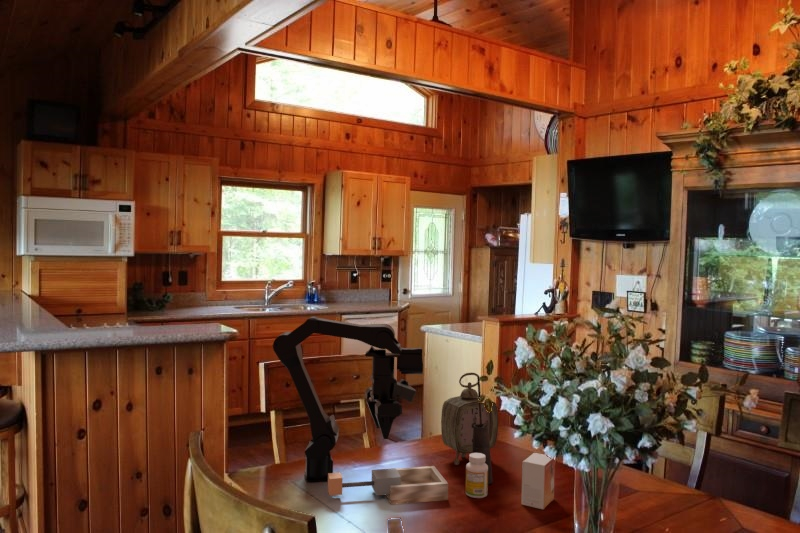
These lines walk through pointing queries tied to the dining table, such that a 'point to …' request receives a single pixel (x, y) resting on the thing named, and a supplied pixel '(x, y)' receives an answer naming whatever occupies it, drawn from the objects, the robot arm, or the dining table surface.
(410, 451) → the dining table surface
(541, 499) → the small box
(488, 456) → the butter churn
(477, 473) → the supplement bottle
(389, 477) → the tethered block
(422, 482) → the tray
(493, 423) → the tabletop clock
